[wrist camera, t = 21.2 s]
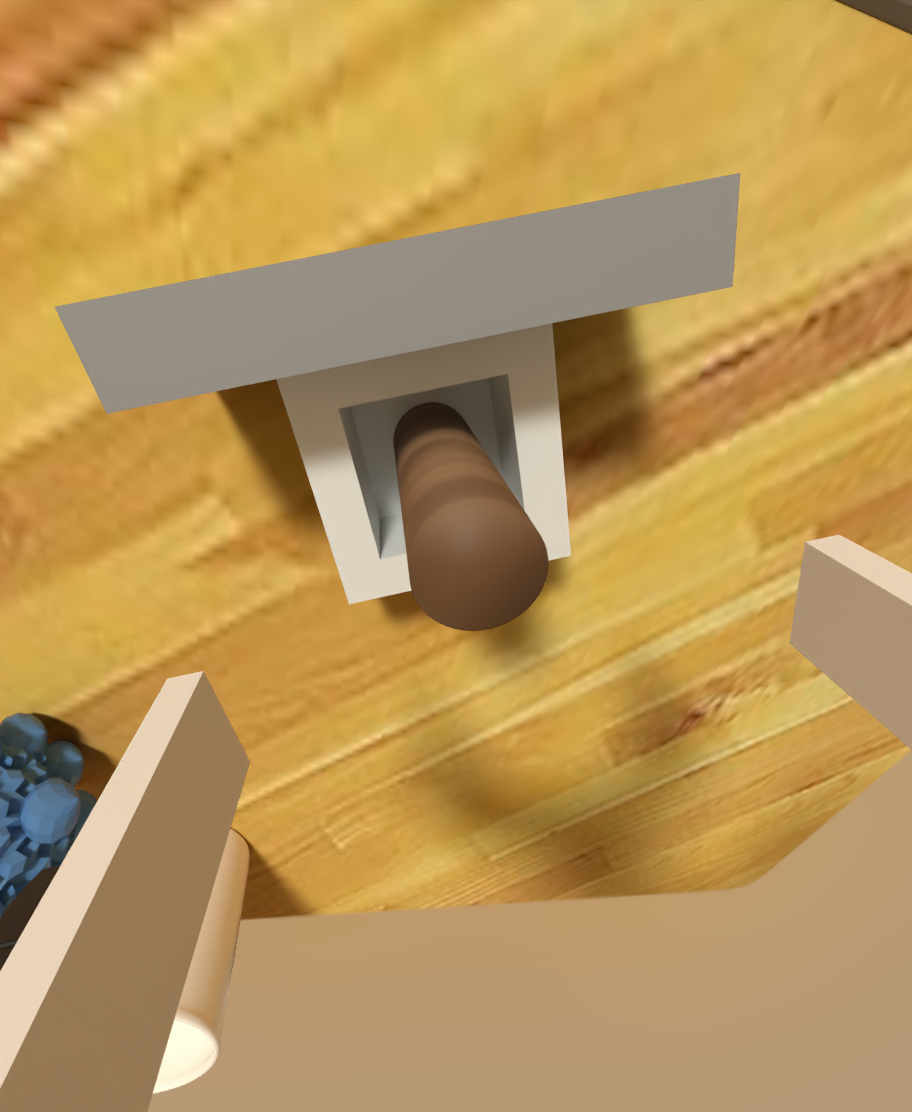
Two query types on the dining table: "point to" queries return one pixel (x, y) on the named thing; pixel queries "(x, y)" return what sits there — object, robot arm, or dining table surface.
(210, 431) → the dining table surface
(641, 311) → the dining table surface
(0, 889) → the grapes
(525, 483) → the white square open box
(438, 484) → the dowel
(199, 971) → the candle holder
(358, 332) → the wall
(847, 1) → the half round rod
